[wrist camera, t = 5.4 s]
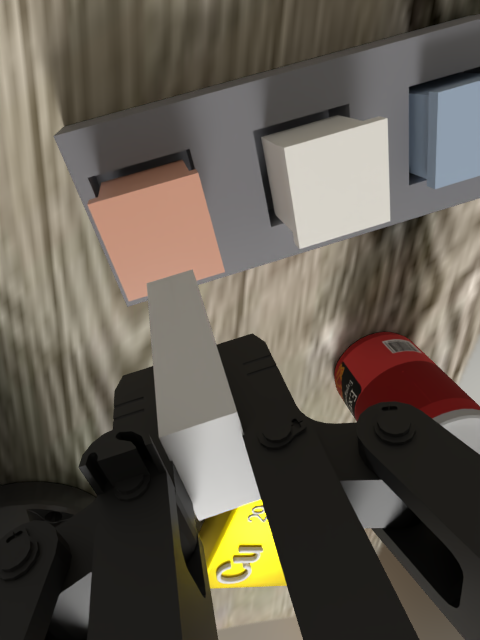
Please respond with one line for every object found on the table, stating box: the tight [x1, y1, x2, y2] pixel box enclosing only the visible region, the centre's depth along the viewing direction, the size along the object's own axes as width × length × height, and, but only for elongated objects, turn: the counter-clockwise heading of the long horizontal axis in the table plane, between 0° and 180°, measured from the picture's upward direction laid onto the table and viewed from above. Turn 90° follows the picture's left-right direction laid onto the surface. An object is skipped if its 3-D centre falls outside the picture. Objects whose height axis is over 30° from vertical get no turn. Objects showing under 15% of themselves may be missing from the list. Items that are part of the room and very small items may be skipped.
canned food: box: [334, 332, 480, 454], centre depth 34 cm, size 8×8×11 cm
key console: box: [54, 14, 480, 307], centre depth 26 cm, size 25×10×4 cm, turn 102°
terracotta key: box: [87, 160, 225, 301], centre depth 22 cm, size 5×5×5 cm
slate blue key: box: [409, 73, 480, 189], centre depth 25 cm, size 5×5×5 cm
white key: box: [261, 115, 390, 249], centre depth 23 cm, size 5×5×5 cm
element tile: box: [199, 500, 287, 588], centre depth 45 cm, size 15×15×5 cm
